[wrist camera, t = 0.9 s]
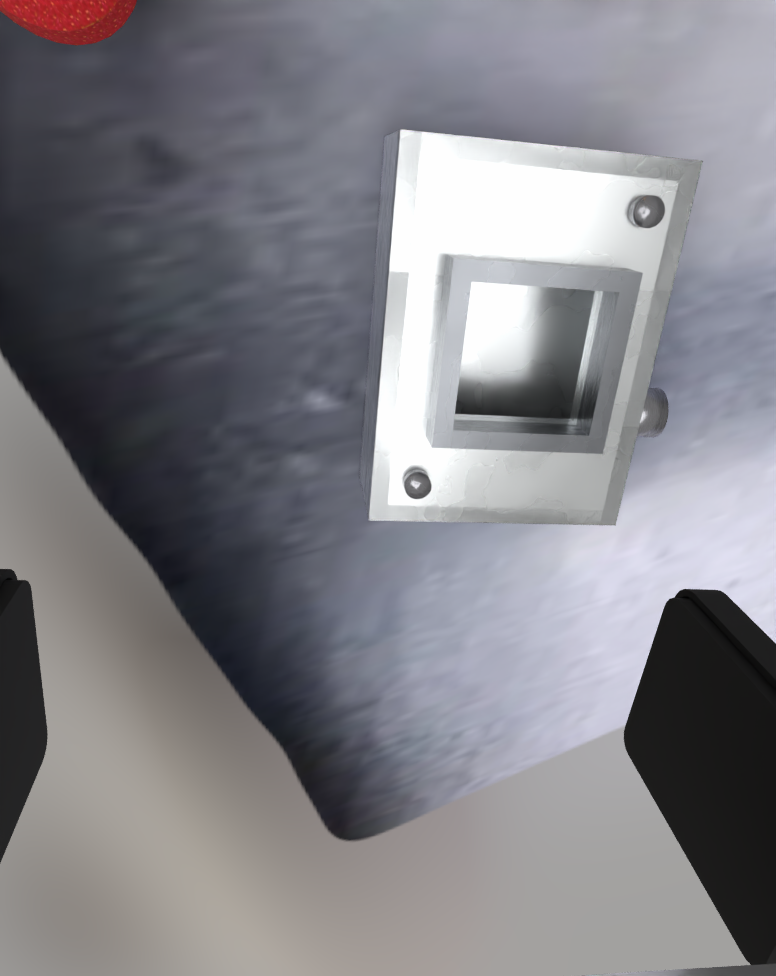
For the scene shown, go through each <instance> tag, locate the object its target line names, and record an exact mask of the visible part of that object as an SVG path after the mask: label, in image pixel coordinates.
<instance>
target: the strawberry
mask: <svg viewBox="0 0 776 976" xmlns="http://www.w3.org/2000/svg"><path fill="white" fill-rule="evenodd" d="M136 2H137V0H0V11H1V12H2V13H4V14H5V15H6V16H7V17H9V18H10V19H11V20H12V21H14V22H15V23H17V24H18V25H20V26H22V27H23V28H25V29H27V30H29V31H30V32H32V33H34V34H35V35H38V36H40V37H43V38H46V39H49V40H51V41H54V42H57V43H64V44H71V45H83V44H91V43H96V42H98V41H101V40H103V39H105V38H107V37H110V36H112V35H113V34H114V33H115V32H116V31H117V30H118V29H119V28H121V27H122V26H123V25H124V24H125V22H126V21H127V19H128V17H129V16H130V14H131V13H132V11H133V9H134V8H135V5H136Z"/></svg>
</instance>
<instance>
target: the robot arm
mask: <svg viewBox="0 0 776 976" xmlns="http://www.w3.org/2000/svg"><path fill="white" fill-rule="evenodd" d="M624 742H625V747H626V750H627V752H628V755H629V756H630V758H631V760H632V762H633V764H634V765H635V767H636V769H637V771H638V772H639V774H640V776H641V778H642V779H643V781H644V783H645V785H646V786H647V788H648V790H649V792H650V793H651V795H652V797H653V799H654V800H655V802H656V804H657V806H658V807H659V809H660V811H661V812H662V814H663V816H664V818H665V820H666V821H667V823H668V825H669V827H670V828H671V830H672V832H673V834H674V835H675V837H676V839H677V841H678V842H679V844H680V846H681V848H682V849H683V851H684V853H685V854H686V856H687V858H688V860H689V862H690V863H691V865H692V867H693V868H694V870H695V872H696V874H697V876H698V877H699V879H700V881H701V883H702V884H703V886H704V888H705V890H706V891H707V893H708V895H709V897H710V898H711V900H712V902H713V904H714V905H715V907H716V909H717V911H718V912H719V914H720V916H721V917H722V919H723V921H724V923H725V924H726V926H727V928H728V930H729V931H730V933H731V935H732V937H733V938H734V940H735V942H736V944H737V945H738V947H739V949H740V951H741V952H742V954H743V955H744V957H745V959H746V960H747V961H748V962H749V963H750V964H751V965H745V966H729V967H712V968H695V969H678V970H663V971H645V972H630V973H613V974H598V975H582V976H776V644H775V643H774V642H773V641H772V640H771V639H770V638H769V637H768V636H767V635H766V634H765V633H764V632H763V631H762V630H761V629H760V628H759V627H758V626H757V625H756V624H755V623H754V622H753V621H752V620H751V619H750V618H749V617H748V616H747V615H746V614H745V613H744V612H743V611H742V610H741V609H740V608H739V607H738V606H737V605H736V604H735V603H734V602H733V601H732V600H731V599H730V598H729V597H728V596H727V595H726V594H724V593H723V592H722V591H718V590H697V589H684V590H681V591H679V592H678V593H677V595H676V596H675V598H672V599H669V600H668V601H667V603H666V605H665V607H664V610H663V613H662V616H661V619H660V622H659V625H658V628H657V631H656V634H655V637H654V640H653V644H652V647H651V650H650V653H649V656H648V659H647V662H646V665H645V668H644V671H643V674H642V677H641V680H640V683H639V686H638V689H637V692H636V696H635V699H634V702H633V705H632V708H631V711H630V714H629V717H628V720H627V723H626V726H625V730H624ZM46 745H47V725H46V715H45V707H44V698H43V689H42V680H41V672H40V663H39V653H38V645H37V637H36V627H35V618H34V609H33V600H32V591H31V586H30V584H29V582H28V581H26V580H17V576H16V574H15V573H14V571H13V570H11V569H0V862H1V860H2V858H3V855H4V853H5V850H6V848H7V846H8V843H9V841H10V838H11V836H12V834H13V831H14V829H15V826H16V824H17V821H18V819H19V817H20V814H21V812H22V809H23V807H24V805H25V802H26V800H27V797H28V795H29V793H30V790H31V788H32V785H33V783H34V781H35V778H36V776H37V774H38V771H39V769H40V766H41V764H42V762H43V758H44V755H45V751H46Z"/></svg>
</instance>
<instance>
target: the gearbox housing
mask: <svg viewBox="0 0 776 976" xmlns="http://www.w3.org/2000/svg"><path fill="white" fill-rule="evenodd" d="M702 162H703V161H699V160H690V159H680V158H670V157H661V156H651V155H641V154H632V153H622V152H613V151H603V150H593V149H584V148H574V147H564V146H555V145H545V144H536V143H526V142H516V141H507V140H497V139H488V138H478V137H468V136H459V135H449V134H439V133H430V132H420V131H411V130H398V131H396V132H394V133H391V134H389V135H387V136H385V137H384V149H383V162H382V176H381V189H380V203H379V217H378V230H377V244H376V258H375V271H374V285H373V299H372V312H371V326H370V339H369V353H368V367H367V380H366V394H365V408H364V421H363V435H362V449H361V462H360V476H359V478H360V483H361V487H362V492H363V496H364V501H365V505H366V510H367V515H368V519H369V520H373V521H423V522H473V523H523V524H573V525H616V520H617V516H618V512H619V508H620V504H621V500H622V495H623V491H624V487H625V483H626V479H627V475H628V470H629V466H630V462H631V458H632V454H633V450H634V445H635V441H636V437H657V436H658V435H660V434H661V432H662V431H663V429H664V427H665V425H666V422H667V418H668V401H667V397H666V395H665V393H664V391H663V390H661V389H659V388H648V387H649V383H650V379H651V375H652V370H653V366H654V362H655V358H656V354H657V350H658V345H659V341H660V337H661V333H662V329H663V325H664V320H665V316H666V312H667V308H668V304H669V300H670V295H671V291H672V287H673V283H674V279H675V274H676V270H677V266H678V262H679V258H680V254H681V249H682V245H683V241H684V237H685V233H686V229H687V224H688V220H689V216H690V212H691V208H692V204H693V199H694V195H695V191H696V187H697V183H698V179H699V174H700V170H701V166H702Z"/></svg>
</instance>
